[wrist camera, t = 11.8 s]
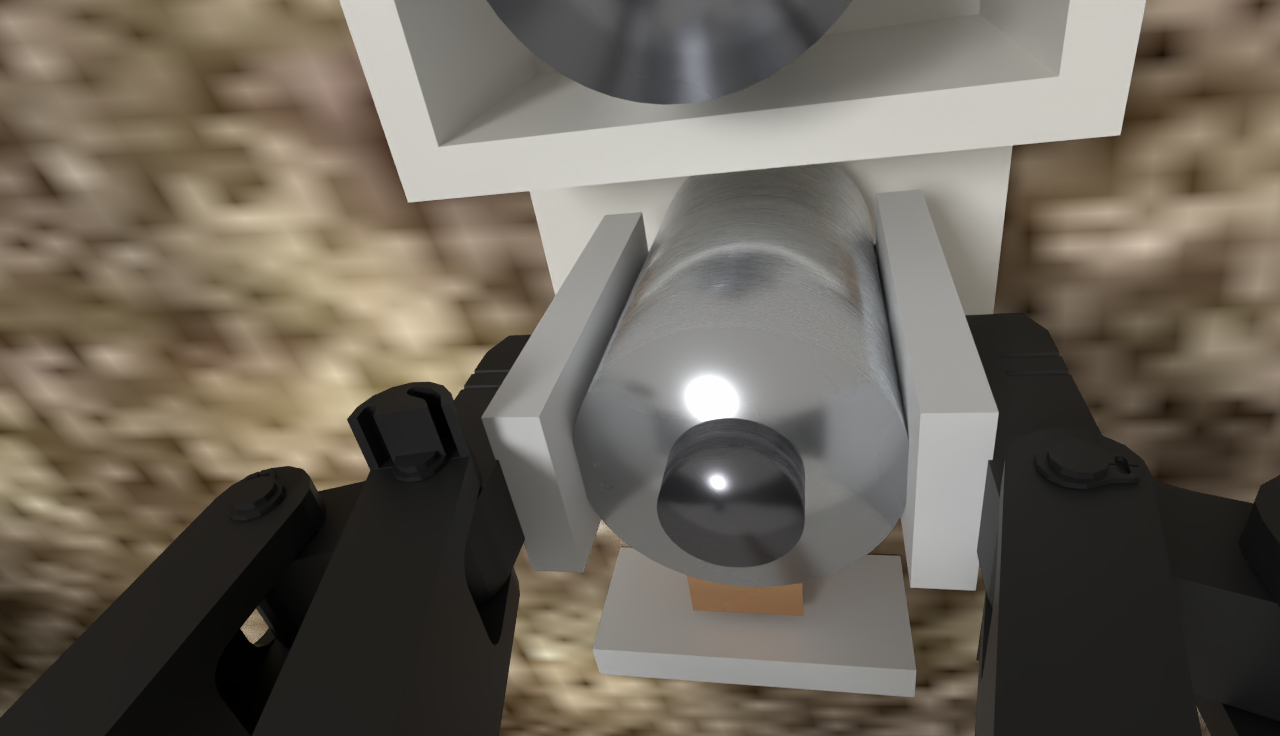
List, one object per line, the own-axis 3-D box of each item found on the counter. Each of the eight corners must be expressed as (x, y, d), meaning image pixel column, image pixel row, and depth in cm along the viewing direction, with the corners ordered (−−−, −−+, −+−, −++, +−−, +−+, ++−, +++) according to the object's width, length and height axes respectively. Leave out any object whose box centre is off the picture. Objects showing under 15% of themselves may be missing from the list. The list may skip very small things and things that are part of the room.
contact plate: (702, 547, 24) (693, 610, 22) (682, 413, 21) (668, 471, 19) (803, 549, 23) (803, 616, 21) (796, 411, 20) (795, 472, 18)
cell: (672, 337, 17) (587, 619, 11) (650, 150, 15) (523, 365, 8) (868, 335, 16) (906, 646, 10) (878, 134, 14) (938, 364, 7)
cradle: (626, 571, 25) (600, 673, 22) (576, 364, 21) (533, 455, 18) (899, 581, 23) (914, 697, 20) (909, 353, 19) (931, 454, 15)
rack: (588, 343, 20) (511, 507, 15) (435, -330, 13) (178, -473, 8) (975, 328, 18) (1047, 516, 13) (1059, -510, 11) (1318, -900, 5)
